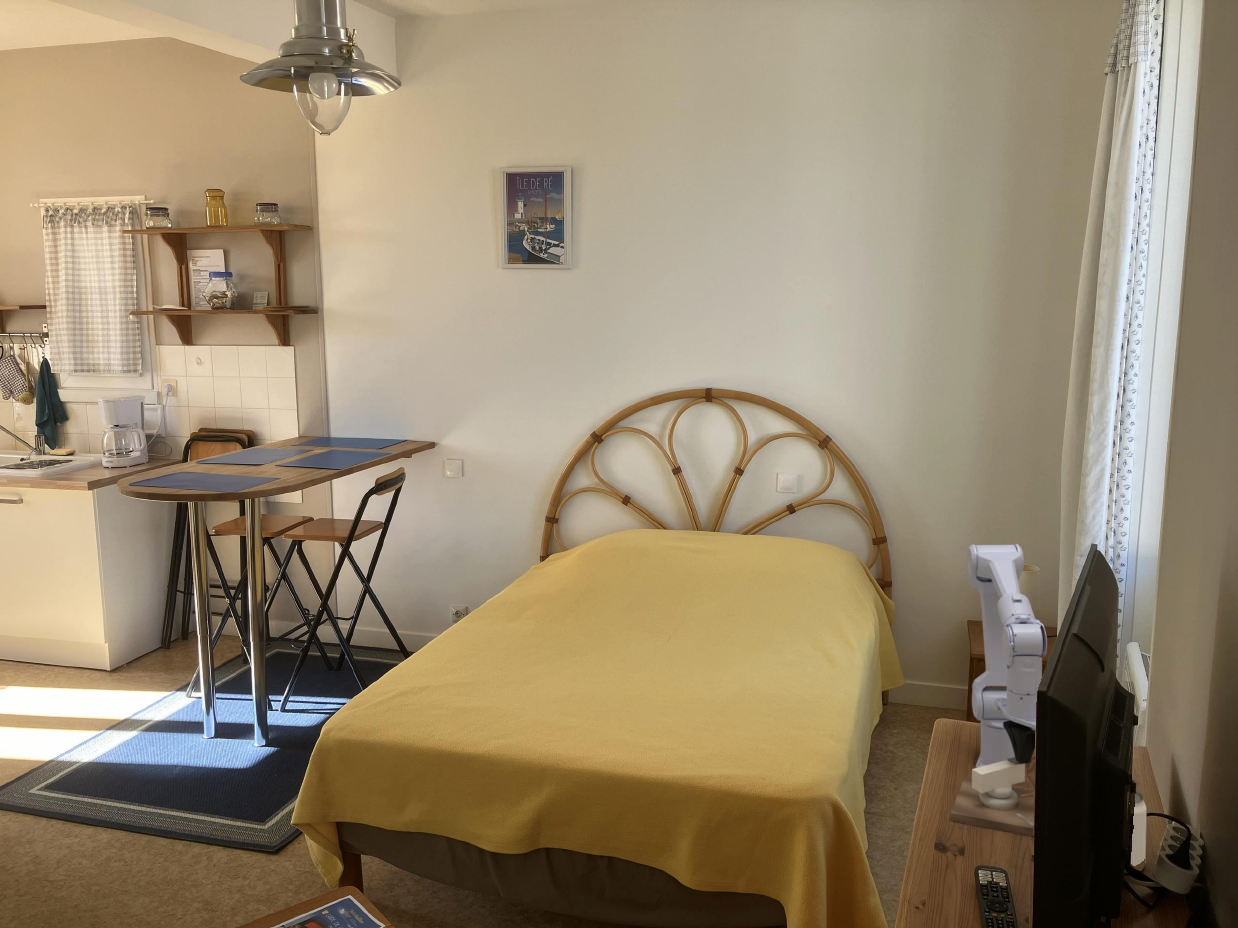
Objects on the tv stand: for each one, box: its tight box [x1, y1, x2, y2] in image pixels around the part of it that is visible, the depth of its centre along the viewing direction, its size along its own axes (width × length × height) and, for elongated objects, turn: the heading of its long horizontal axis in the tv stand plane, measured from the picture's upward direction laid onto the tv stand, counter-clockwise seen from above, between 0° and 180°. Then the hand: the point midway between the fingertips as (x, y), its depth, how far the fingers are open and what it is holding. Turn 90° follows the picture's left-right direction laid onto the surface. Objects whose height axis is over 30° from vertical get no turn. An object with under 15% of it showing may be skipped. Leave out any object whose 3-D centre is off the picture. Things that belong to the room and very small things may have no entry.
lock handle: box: [971, 757, 1026, 798], centre depth 172 cm, size 10×4×5 cm, turn 112°
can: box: [1129, 790, 1147, 866], centre depth 153 cm, size 6×6×12 cm
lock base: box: [950, 776, 1035, 837], centre depth 172 cm, size 15×14×3 cm
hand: (1023, 761), depth 171 cm, fingers closed
